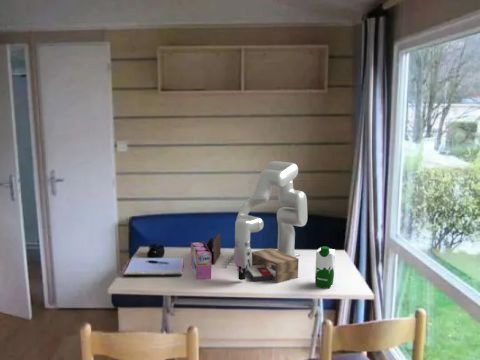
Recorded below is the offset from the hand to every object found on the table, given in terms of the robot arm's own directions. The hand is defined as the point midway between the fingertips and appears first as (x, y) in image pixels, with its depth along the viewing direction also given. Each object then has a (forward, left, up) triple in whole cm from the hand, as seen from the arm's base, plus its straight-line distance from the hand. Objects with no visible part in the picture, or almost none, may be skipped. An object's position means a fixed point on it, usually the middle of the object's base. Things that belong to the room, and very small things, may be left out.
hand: (241, 279), depth 233 cm
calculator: (-12, -2, -2) cm, 13 cm away
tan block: (-21, 0, -2) cm, 21 cm away
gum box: (+10, -24, -2) cm, 26 cm away
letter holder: (-6, -40, -2) cm, 40 cm away
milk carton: (-32, +26, -2) cm, 41 cm away
